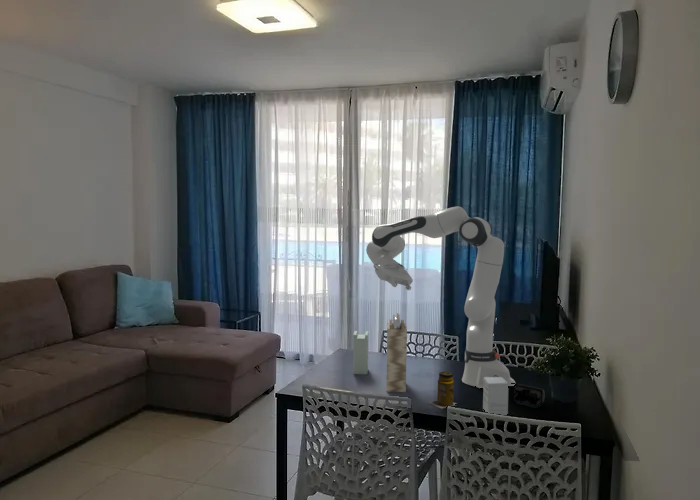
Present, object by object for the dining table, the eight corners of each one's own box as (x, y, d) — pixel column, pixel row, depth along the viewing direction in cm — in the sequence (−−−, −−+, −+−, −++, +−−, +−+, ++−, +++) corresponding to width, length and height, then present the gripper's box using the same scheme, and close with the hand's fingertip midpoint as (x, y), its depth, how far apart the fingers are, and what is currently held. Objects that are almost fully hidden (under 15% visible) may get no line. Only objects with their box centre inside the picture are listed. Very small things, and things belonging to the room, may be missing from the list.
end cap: (544, 404, 203) (545, 387, 202) (538, 409, 197) (539, 392, 197) (519, 398, 209) (519, 382, 208) (512, 403, 203) (513, 386, 203)
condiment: (458, 404, 202) (458, 374, 201) (441, 409, 197) (442, 377, 196) (444, 399, 208) (445, 369, 207) (428, 403, 203) (429, 372, 202)
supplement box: (501, 409, 197) (502, 376, 196) (508, 417, 190) (509, 383, 189) (482, 409, 197) (483, 376, 196) (487, 417, 189) (488, 383, 189)
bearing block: (405, 382, 227) (405, 319, 225) (405, 392, 215) (406, 325, 213) (386, 382, 228) (387, 319, 226) (386, 391, 216) (387, 325, 214)
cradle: (368, 369, 247) (368, 331, 245) (367, 374, 239) (367, 335, 237) (354, 368, 247) (354, 330, 246) (353, 374, 239) (353, 334, 238)
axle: (392, 319, 234) (392, 312, 234) (399, 319, 234) (399, 312, 233) (393, 329, 214) (393, 322, 214) (400, 329, 214) (400, 322, 214)
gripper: (375, 258, 233) (391, 278, 224) (405, 266, 246) (421, 285, 237) (368, 268, 235) (382, 289, 226) (398, 276, 248) (413, 296, 239)
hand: (402, 287), depth 232 cm, fingers open, 8 cm apart
